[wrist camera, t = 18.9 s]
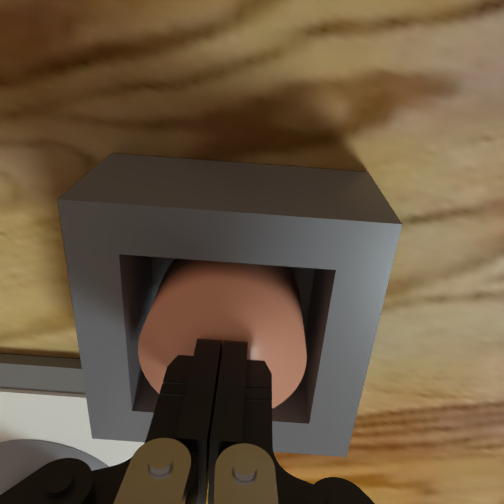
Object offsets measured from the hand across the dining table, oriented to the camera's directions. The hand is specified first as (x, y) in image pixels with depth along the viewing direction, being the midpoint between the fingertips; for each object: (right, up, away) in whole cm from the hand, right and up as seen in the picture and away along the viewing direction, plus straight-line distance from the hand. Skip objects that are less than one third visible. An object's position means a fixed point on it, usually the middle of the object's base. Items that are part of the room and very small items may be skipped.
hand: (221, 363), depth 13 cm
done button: (0, +2, +3) cm, 3 cm away
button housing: (0, +2, +4) cm, 5 cm away
